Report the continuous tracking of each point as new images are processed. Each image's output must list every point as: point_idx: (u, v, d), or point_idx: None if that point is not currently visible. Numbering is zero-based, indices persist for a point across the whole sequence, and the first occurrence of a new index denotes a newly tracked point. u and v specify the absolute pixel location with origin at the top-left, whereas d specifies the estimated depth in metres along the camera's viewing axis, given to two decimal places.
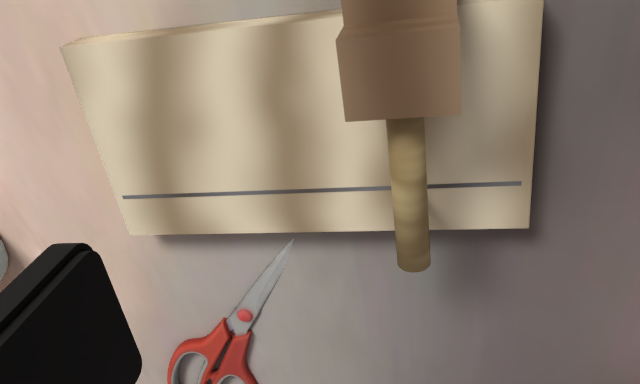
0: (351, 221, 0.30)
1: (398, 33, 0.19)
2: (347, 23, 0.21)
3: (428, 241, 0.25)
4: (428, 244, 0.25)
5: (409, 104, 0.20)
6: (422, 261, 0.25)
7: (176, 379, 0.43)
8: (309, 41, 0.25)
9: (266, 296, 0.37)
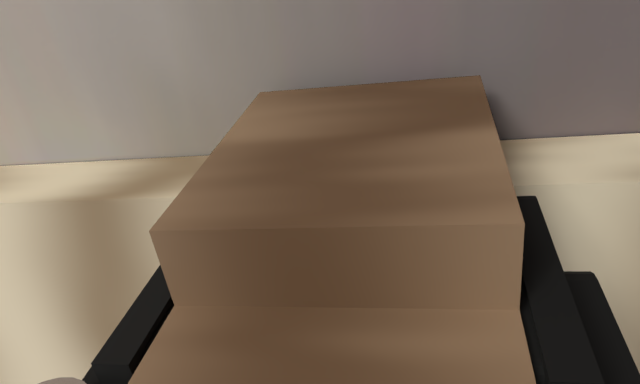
0: None
1: None
2: (184, 300, 0.07)
3: None
4: None
5: None
6: None
7: None
8: None
9: None
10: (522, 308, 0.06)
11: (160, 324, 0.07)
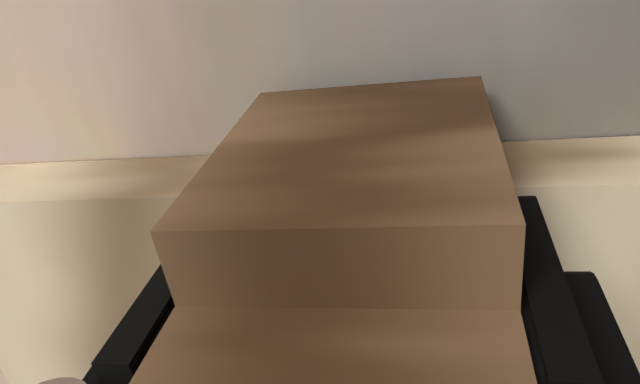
0: None
1: None
2: (185, 301, 0.07)
3: None
4: None
5: None
6: None
7: None
8: None
9: None
10: (522, 308, 0.06)
11: (160, 324, 0.07)
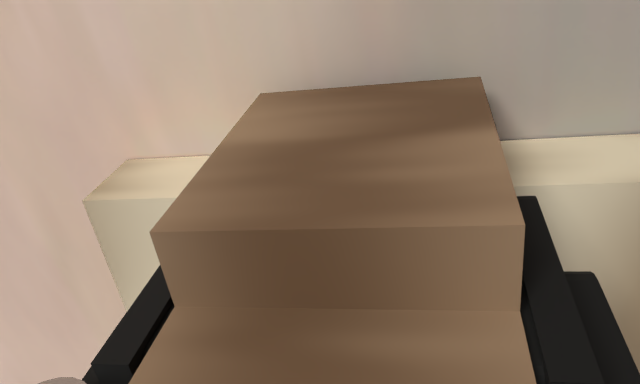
0: None
1: None
2: (184, 301, 0.07)
3: None
4: None
5: None
6: None
7: None
8: None
9: None
10: (522, 308, 0.06)
11: (160, 324, 0.07)
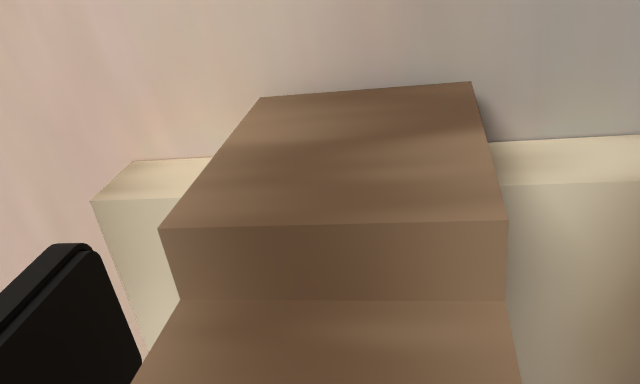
0: None
1: None
2: (189, 294, 0.07)
3: None
4: None
5: None
6: None
7: None
8: None
9: None
10: None
11: None
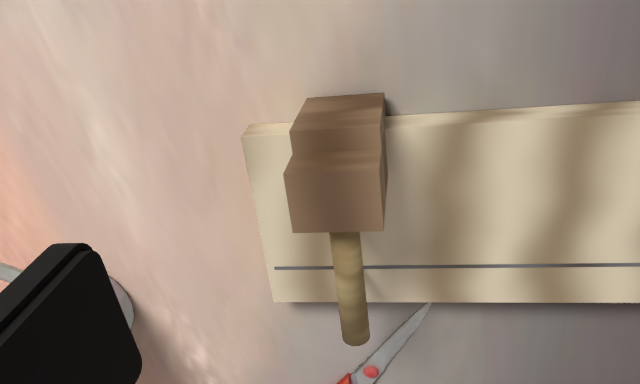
0: (495, 293, 0.33)
1: (332, 171, 0.24)
2: (295, 152, 0.26)
3: (366, 320, 0.30)
4: (367, 322, 0.30)
5: (342, 222, 0.25)
6: (362, 337, 0.30)
7: None
8: (484, 139, 0.28)
9: (394, 354, 0.39)
10: None
11: None
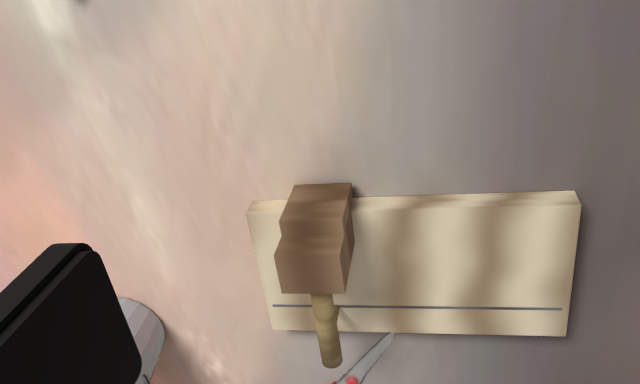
0: (440, 327, 0.43)
1: (307, 254, 0.34)
2: (283, 235, 0.37)
3: (339, 350, 0.40)
4: (339, 351, 0.40)
5: (316, 287, 0.35)
6: (335, 362, 0.41)
7: None
8: (423, 220, 0.38)
9: (369, 367, 0.49)
10: None
11: None
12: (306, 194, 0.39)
